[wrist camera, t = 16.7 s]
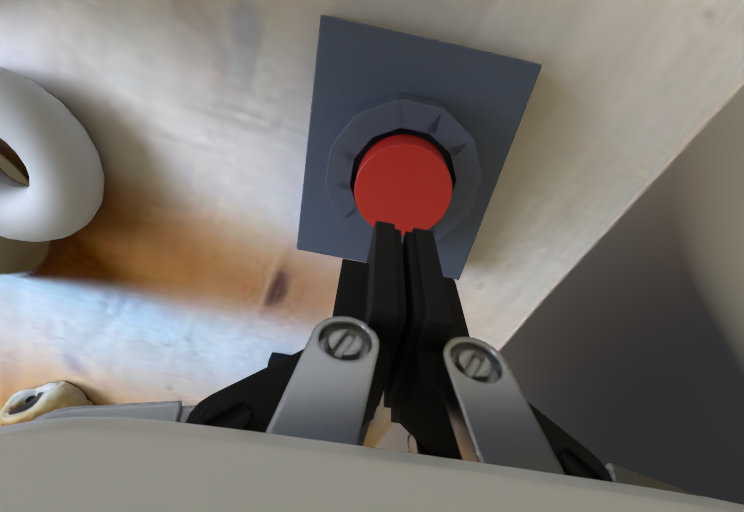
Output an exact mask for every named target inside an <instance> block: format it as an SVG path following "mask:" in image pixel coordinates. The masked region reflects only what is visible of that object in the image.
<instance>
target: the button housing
mask: <svg viewBox="0 0 744 512" xmlns="http://www.w3.org/2000/svg"><path fill="white" fill-rule="evenodd" d="M540 69H541V64H537V63H533V62H529V61H525V60H521V59H516V58H512V57H508V56H503V55H499V54H494V53H490V52H486V51H481V50H477V49H472V48H468V47H464V46H459V45H455V44H451V43H446V42H442V41H437V40H433V39H429V38H424V37H420V36H415V35H411V34H407V33H402V32H398V31H393V30H389V29H385V28H380V27H376V26H371V25H367V24H363V23H358V22H354V21H349V20H345V19H341V18H336V17H332V16H327V15H321V19H320V28H319V38H318V48H317V57H316V67H315V77H314V87H313V96H312V106H311V116H310V125H309V135H308V145H307V154H306V164H305V174H304V184H303V193H302V203H301V213H300V222H299V232H298V242H297V249H299V250H304V251H310V252H315V253H320V254H325V255H331V256H336V257H341V258H346V259H352V260H357V261H362V262H367V257H368V253H369V248H370V243H371V239H372V234H373V230H374V227H373V226H372V225H370V224H369V223H368V222H367V221H366V220H365V219H364V217H363V216H362V214H361V213H360V211H359V209H358V207H357V204H356V201H355V194H354V188H355V181H356V177H357V173H358V169H359V165H360V163H361V160H362V159H363V157H364V155H365V154H366V152H367V151H368V150H369V149H370V148H371V147H372V146H373V145H374V144H376V143H377V142H379V141H380V140H382V139H384V138H387V137H389V136H393V135H399V134H408V135H414V136H418V137H421V138H423V139H425V140H427V141H429V142H430V143H431V144H433V145H434V146H435V147H436V148H437V149H438V150H439V151H440V153H441V154H442V156H443V158H444V160H445V162H446V165H447V167H448V170H449V173H450V176H451V180H452V190H453V191H452V198H451V202H450V204H449V207H448V209H447V211H446V213H445V214H444V215H443V217H442V218H441V219H440V220H439V221H438V222H437V223H436V224H435V225H434V226H432V227H431V228H429V229H428V230H430V231H433V233H434V237H435V242H436V246H437V251H438V255H439V260H440V264H441V269H442V273H443V277H448V278H452V279H456V280H459V278H460V276H461V273H462V270H463V268H464V265H465V263H466V260H467V258H468V255H469V252H470V250H471V247H472V245H473V242H474V239H475V237H476V234H477V232H478V229H479V227H480V224H481V221H482V219H483V216H484V214H485V211H486V208H487V206H488V203H489V201H490V198H491V196H492V193H493V190H494V188H495V185H496V183H497V180H498V177H499V175H500V172H501V170H502V167H503V165H504V162H505V159H506V157H507V154H508V152H509V149H510V146H511V144H512V141H513V139H514V136H515V133H516V131H517V128H518V126H519V123H520V121H521V118H522V115H523V113H524V110H525V108H526V105H527V102H528V100H529V97H530V95H531V92H532V90H533V87H534V84H535V82H536V79H537V77H538V74H539V71H540ZM401 238H402V242H403V238H404V236H401Z"/></svg>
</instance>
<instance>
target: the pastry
mask: <svg viewBox="0 0 744 512" xmlns="http://www.w3.org/2000/svg"><path fill="white" fill-rule="evenodd" d="M77 406H95V405H94V404H93V403H92V402H91V401H88V400H87V399H86V397H85V394H84V393H83V392H82V391H81V390H80V389H79V388H77V387H75V386H73V385H71V384H69V383H67V382H65V381H58V382H53V383H47V384H46V385H43V386H40V387H38V388H36V389H27V390H22V391H18V392H17V393H15V394H14V395H13V396H12V397H11V398H10V399H9V400H8V401H7V403H6V404H5V405H4V407H3V409H2V411H1V413H0V425H2V426H5V425H12V424H17V423H23V422H28V421H33V420H34V419H35V418H37V417H39V416H42V415H44V414H46V413H48V412H51V411H53V410H57V409H62V408H67V407H77Z"/></svg>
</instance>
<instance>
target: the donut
mask: <svg viewBox="0 0 744 512" xmlns="http://www.w3.org/2000/svg"><path fill="white" fill-rule="evenodd" d="M0 138H1V139H2V140H4V141H5V142H6V143H7V144H8V145H9V146H10V147H11V148H12V149H13V150H14V151H15V152H16V153H17V154H18V156H19V157H20V159H21V160H22V162H23V163H24V165H25V166H26V168H27V171H28V174H29V186H27V185H25V184H22V183H20V182H17V181H16V180H14V179H12V178H11V177H9V176H8V175H7V174H6V173H5V172H4V171H3V170H2V169H1V168H0V236H3V237H6V238H9V239H16V240H25V241H32V242H40V241H48V240H54V239H60V238H65V237H67V236H70V235H72V234H73V233H75V232H76V231H78V230H80V229H81V228H83V227H84V226H86V225H87V224H88V223H89V222H90V221H91V220H92V219H93V217H94V216H95V214H96V212H97V211H98V209H99V207H100V206H101V204H102V200H103V190H104V180H105V177H104V173H103V169H102V165H101V161H100V157H99V154H98V152H97V150H96V148H95V146H94V145H93V143H92V141H91V139H90V137H89V136H88V134H87V132H86V130H85V128H84V127H83V126H82V125H81V124H80V122H79V121H78V120H77V119H76V118H75V117H74V116H73V115H72V113H71V112H70V111H69V110H68V109H67V108H66V107H65V106H64V104H63V103H62V102H60V101H59V100H58V99H56V98H55V97H54V96H52V95H51V94H50V93H48V92H47V91H46V90H44V89H43V88H42V87H40V86H39V85H38V84H36V83H35V82H34V81H31V80H29V79H27V78H25V77H22V76H20V75H18V74H16V73H13V72H11V71H9V70H7V69H4V68H2V67H0Z"/></svg>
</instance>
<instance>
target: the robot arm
mask: <svg viewBox="0 0 744 512" xmlns="http://www.w3.org/2000/svg"><path fill="white" fill-rule="evenodd" d="M383 391H384V407H387V408H391V422H395V423H400V424H401V425H402V426H403V427H404V428H405V429H406V430H407V431H408V432H409V435H408V448H409V453H408V452H401V451H393V450H387V449H379V448H372V447H365V446H358V445H357V444H358V439H359V435H360V431H361V427H363V426H364V425H365V424H367V423H368V422H369V421H371V420H372V419H373V418H374V414H375V411H376V408H377V406H379V403H380V400H381V397H382V394H383ZM0 512H744V505H740V504H736V503H731V502H727V501H722V500H717V499H713V498H708V497H702V496H699V495H696V494H693V493H691V492H688V491H685V490H682V489H679V488H677V487H674V486H671V485H668V484H666V483H663V482H660V481H657V480H655V479H652V478H649V477H646V476H643V475H641V474H638V473H635V472H633V471H630V470H626V469H624V468H622V467H619V466H616V465H613V464H610V463H609V464H607V465H606V467H604V465H603V464H602V463H601V461H600V460H599V459H597V458H596V457H595V456H594V455H593V454H592V453H591V452H590V451H589V450H588V449H586V448H585V447H584V446H583V445H581V444H580V443H579V442H578V441H576V440H575V439H574V438H572V437H571V436H570V435H569V434H567V433H566V432H565V431H564V430H562V429H561V428H560V427H559V426H557V425H556V424H555V423H553V422H552V421H551V420H550V419H549V418H547V417H546V416H545V415H543V414H542V413H541V412H540V411H538V410H537V409H536V408H535V407H533V406H532V405H531V404H529V403H528V402H527V400H526V398H525V397H524V394H523V393H522V391H521V389H520V387H519V385H518V383H517V381H516V379H515V377H514V375H513V373H512V372H511V370H510V368H509V366H508V364H507V362H506V361H505V359H504V358H503V356H502V355H501V354H500V353H499V352H498V351H497V350H496V349H495V348H494V347H492V346H491V345H489V344H487V343H486V342H484V341H481V340H479V339H476V338H472V337H469V333H468V329H467V325H466V322H465V318H464V314H463V310H462V306H461V303H460V299H459V295H458V291H457V287H456V284H455V281H454V279H452V278H448V277H443V273H442V269H441V264H440V260H439V255H438V251H437V246H436V242H435V237H434V233H433V231H430V230H424V229H419V228H413V230H412V232H408V231H406V232H405V235H404V238H403V242H402V238H401V230H398V229H395V224H392V223H387V222H382V221H376V222H375V226H374V230H373V234H372V239H371V243H370V248H369V253H368V257H367V262H366V263H364V262H358V261H353V260H347V259H343V261H342V267H341V272H340V278H339V283H338V289H337V294H336V300H335V305H334V311H333V317H331V318H328V319H325V320H323V321H322V322H320V323H318V324H317V326H316V327H315V328H314V330H313V331H312V333H311V336H310V338H309V340H308V342H307V344H306V346H305V348H304V349H303V350H301V351H299V352H297V353H295V354H293V355H291V356H289V357H287V358H285V359H283V360H281V361H279V362H277V363H275V364H273V365H271V366H269V367H267V368H265V369H263V370H261V371H259V372H257V373H255V374H253V375H251V376H249V377H247V378H245V379H242V380H240V381H238V382H236V383H234V384H232V385H230V386H228V387H226V388H224V389H222V390H220V391H218V392H216V393H214V394H212V395H210V396H209V397H207V398H206V399H204V400H202V401H201V402H199V403H198V405H194V406H182V401H166V402H148V403H130V404H112V405H95V406H77V407H67V408H62V409H57V410H53V411H51V412H48V413H46V414H44V415H42V416H39V417H37V418H35V419H34V420H33V421H28V422H23V423H17V424H12V425H6V426H1V427H0Z"/></svg>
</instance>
